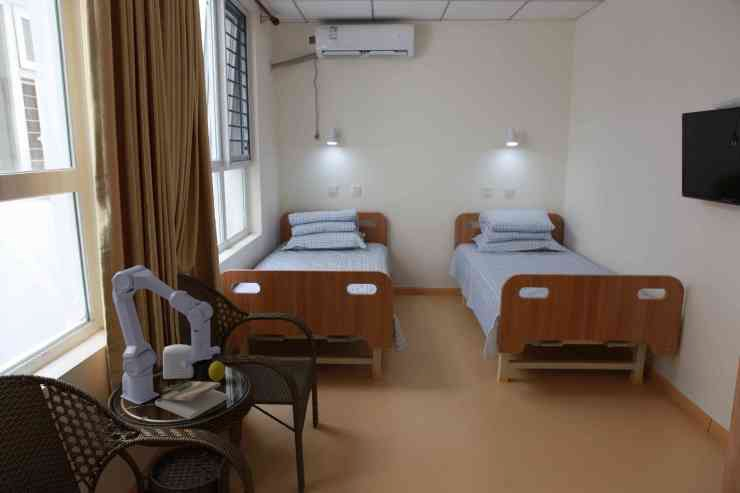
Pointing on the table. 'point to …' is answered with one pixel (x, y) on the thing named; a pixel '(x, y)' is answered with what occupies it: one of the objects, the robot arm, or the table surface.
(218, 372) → the lemon
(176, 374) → the photo printer
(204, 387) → the board
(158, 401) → the light grey square plate
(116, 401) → the table surface
